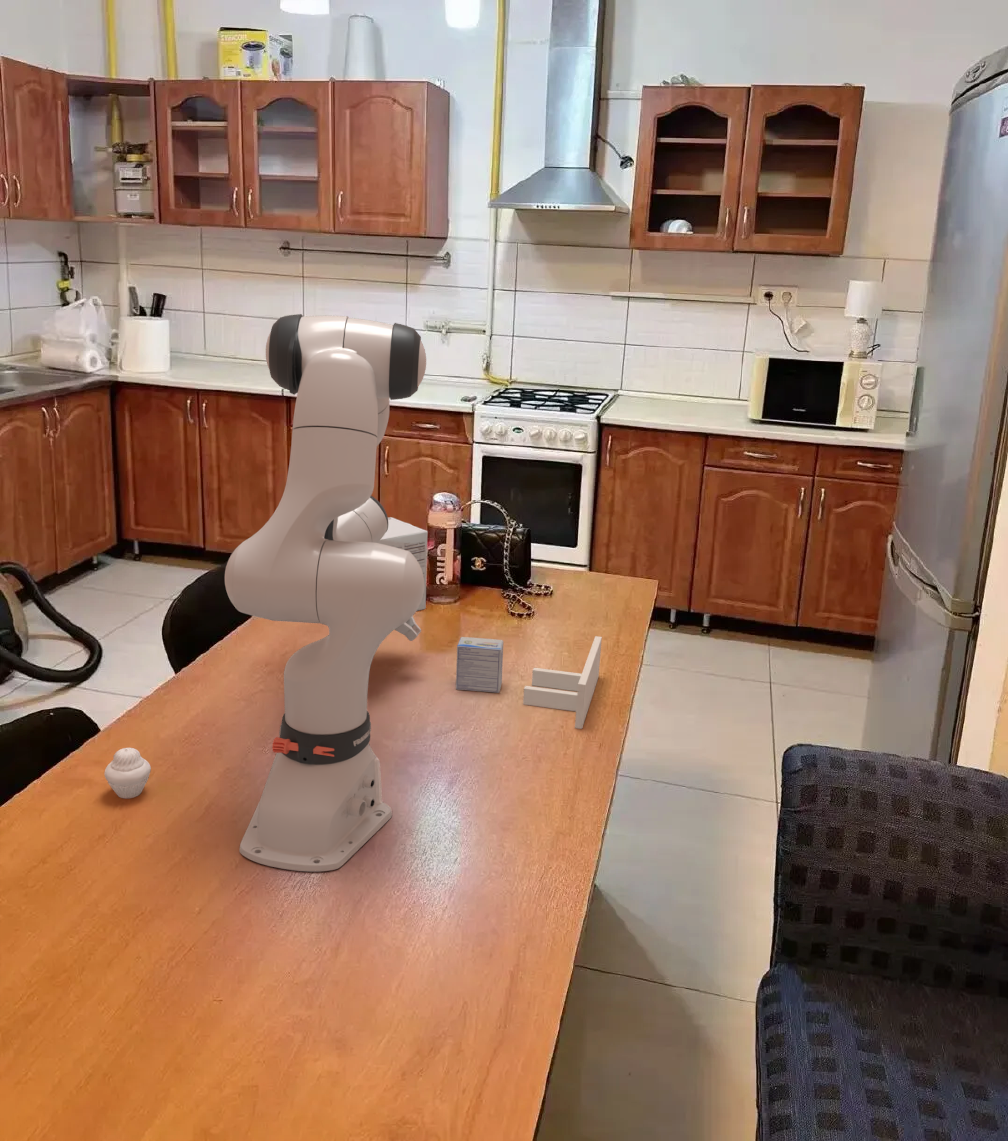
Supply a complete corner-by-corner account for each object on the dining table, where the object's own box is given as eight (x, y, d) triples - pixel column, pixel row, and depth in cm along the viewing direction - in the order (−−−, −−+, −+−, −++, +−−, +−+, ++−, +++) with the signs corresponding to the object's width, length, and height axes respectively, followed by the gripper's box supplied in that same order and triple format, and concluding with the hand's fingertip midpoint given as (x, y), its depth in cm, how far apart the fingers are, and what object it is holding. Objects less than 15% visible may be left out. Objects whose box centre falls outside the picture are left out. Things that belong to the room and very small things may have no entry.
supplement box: (340, 603, 225) (340, 524, 220) (391, 591, 234) (392, 516, 228) (376, 621, 216) (377, 540, 210) (427, 609, 224) (429, 530, 219)
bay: (582, 728, 174) (585, 684, 171) (515, 719, 176) (518, 676, 173) (598, 676, 194) (601, 636, 192) (539, 669, 196) (541, 629, 194)
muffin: (160, 793, 149) (157, 749, 146) (120, 809, 144) (117, 763, 142) (137, 777, 152) (134, 734, 150) (97, 792, 148) (94, 747, 146)
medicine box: (502, 683, 190) (504, 639, 187) (499, 694, 185) (501, 648, 183) (458, 680, 190) (460, 635, 187) (455, 690, 186) (456, 645, 183)
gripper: (356, 586, 175) (412, 647, 177) (394, 551, 194) (443, 607, 196) (331, 608, 178) (386, 668, 179) (370, 571, 197) (420, 626, 198)
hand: (416, 636), depth 188 cm, fingers closed
